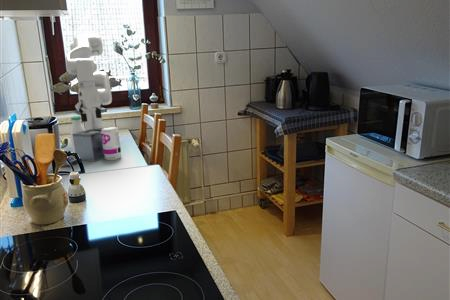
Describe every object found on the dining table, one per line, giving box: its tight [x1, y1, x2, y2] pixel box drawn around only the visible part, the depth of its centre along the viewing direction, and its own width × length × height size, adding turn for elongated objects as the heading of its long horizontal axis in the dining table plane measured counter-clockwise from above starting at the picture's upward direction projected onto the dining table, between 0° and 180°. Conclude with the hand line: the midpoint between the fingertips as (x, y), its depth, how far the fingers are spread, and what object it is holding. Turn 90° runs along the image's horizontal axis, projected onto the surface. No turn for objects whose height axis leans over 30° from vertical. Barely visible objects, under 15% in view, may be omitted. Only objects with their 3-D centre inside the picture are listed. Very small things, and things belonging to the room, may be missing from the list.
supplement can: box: [101, 126, 123, 161], centre depth 195 cm, size 8×8×15 cm
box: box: [73, 127, 105, 162], centre depth 201 cm, size 12×16×13 cm
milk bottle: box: [70, 115, 86, 153], centre depth 206 cm, size 8×8×20 cm
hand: (91, 119), depth 198 cm, fingers open, 9 cm apart
